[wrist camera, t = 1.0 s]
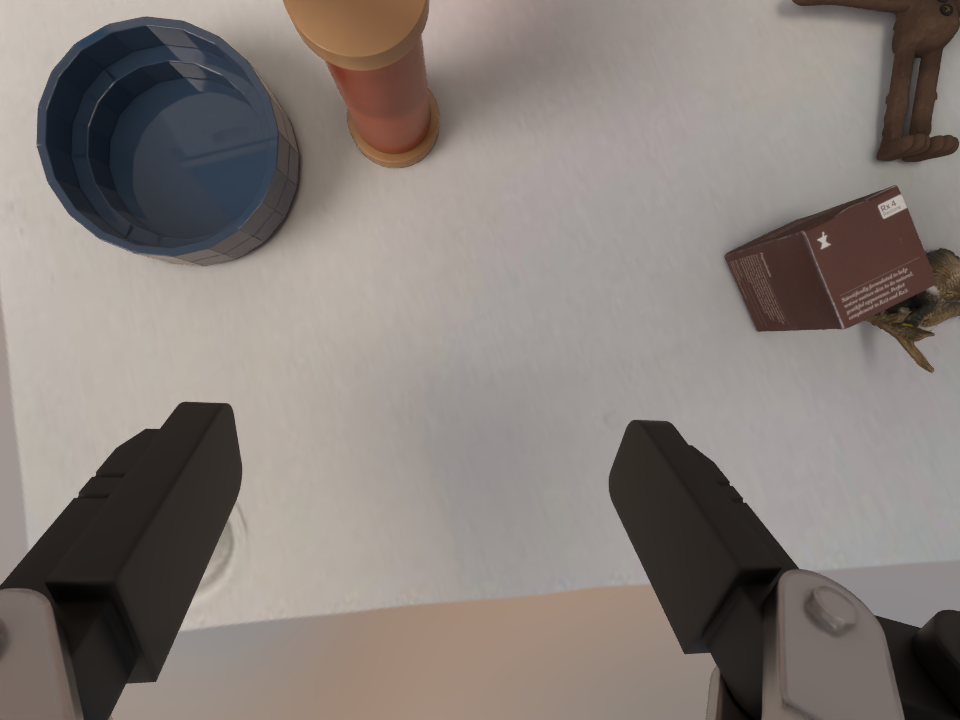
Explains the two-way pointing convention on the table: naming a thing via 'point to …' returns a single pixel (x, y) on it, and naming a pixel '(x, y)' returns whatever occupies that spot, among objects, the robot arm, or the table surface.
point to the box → (833, 266)
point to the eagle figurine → (925, 307)
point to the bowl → (166, 143)
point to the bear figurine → (917, 34)
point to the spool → (376, 71)
